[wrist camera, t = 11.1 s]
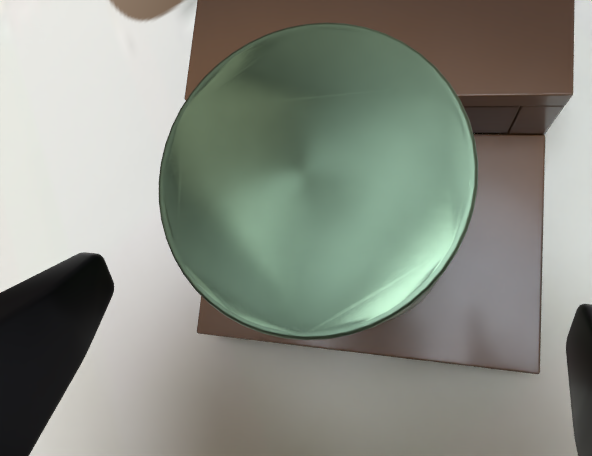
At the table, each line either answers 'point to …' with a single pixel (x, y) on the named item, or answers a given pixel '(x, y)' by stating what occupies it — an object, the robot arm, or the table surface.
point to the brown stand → (490, 152)
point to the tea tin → (318, 181)
